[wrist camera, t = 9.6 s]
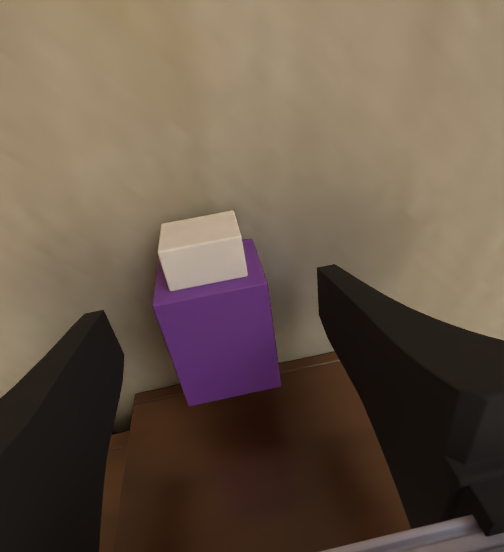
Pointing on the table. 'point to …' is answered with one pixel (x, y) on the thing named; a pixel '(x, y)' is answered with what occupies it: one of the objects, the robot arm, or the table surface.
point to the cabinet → (257, 469)
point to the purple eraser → (214, 309)
